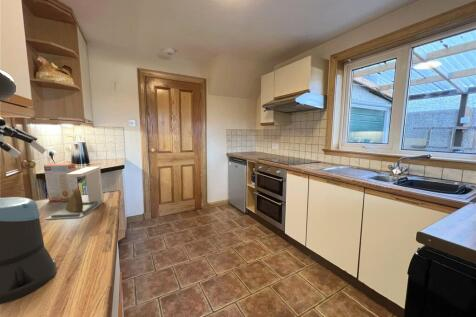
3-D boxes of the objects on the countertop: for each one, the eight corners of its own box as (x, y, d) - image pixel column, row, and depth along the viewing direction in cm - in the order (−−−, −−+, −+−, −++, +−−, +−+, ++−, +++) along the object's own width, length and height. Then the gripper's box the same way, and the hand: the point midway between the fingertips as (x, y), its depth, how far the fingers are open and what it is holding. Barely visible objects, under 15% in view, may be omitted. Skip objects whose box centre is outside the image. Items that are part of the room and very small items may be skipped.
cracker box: (80, 198, 120) (75, 163, 117) (71, 202, 114) (66, 165, 111) (58, 197, 122) (53, 162, 118) (48, 201, 116) (42, 164, 112)
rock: (88, 206, 100) (90, 197, 108) (73, 195, 96) (76, 187, 104) (68, 222, 98) (72, 212, 106) (51, 212, 93) (56, 202, 102)
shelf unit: (81, 217, 95) (75, 175, 91) (44, 219, 93) (38, 176, 90) (104, 201, 115) (100, 166, 112) (75, 202, 113) (70, 167, 110)
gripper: (9, 125, 100) (48, 155, 105) (-56, 125, 76) (-2, 164, 80) (19, 114, 100) (58, 145, 104) (-42, 111, 76) (11, 150, 80)
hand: (32, 153), depth 92 cm, fingers open, 13 cm apart
